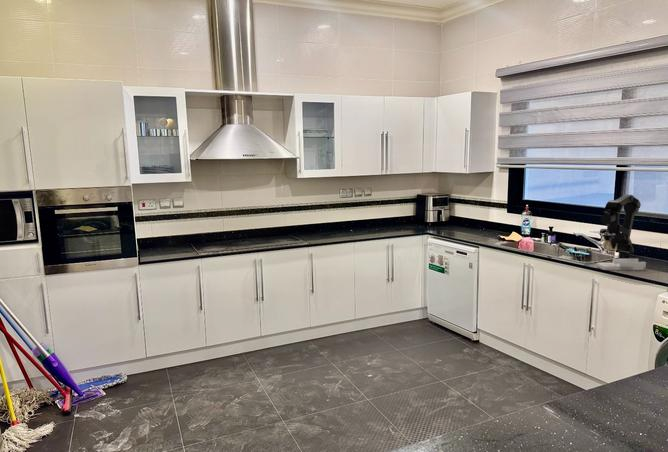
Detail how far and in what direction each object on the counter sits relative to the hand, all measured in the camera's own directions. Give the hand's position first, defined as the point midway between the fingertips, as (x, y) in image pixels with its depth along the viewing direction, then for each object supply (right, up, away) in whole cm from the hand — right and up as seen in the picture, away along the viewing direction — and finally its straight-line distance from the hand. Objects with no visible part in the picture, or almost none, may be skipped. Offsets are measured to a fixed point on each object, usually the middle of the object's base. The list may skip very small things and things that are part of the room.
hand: (611, 247), depth 271 cm
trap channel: (+6, -12, 0) cm, 13 cm away
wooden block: (-1, -1, 0) cm, 1 cm away
